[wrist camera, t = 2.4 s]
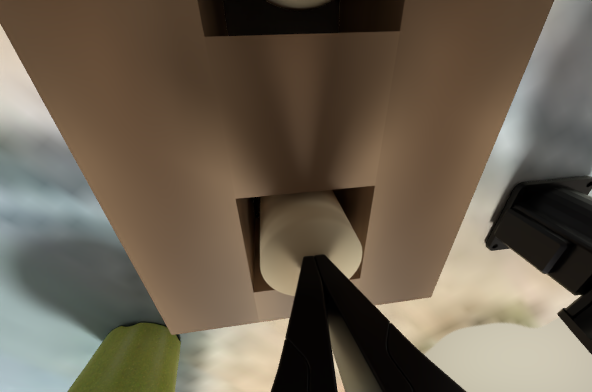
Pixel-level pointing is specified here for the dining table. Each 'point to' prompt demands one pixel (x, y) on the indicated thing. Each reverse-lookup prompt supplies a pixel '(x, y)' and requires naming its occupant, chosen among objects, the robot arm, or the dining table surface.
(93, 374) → the plant pot
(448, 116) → the jig block
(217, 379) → the dining table surface
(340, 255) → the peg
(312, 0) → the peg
